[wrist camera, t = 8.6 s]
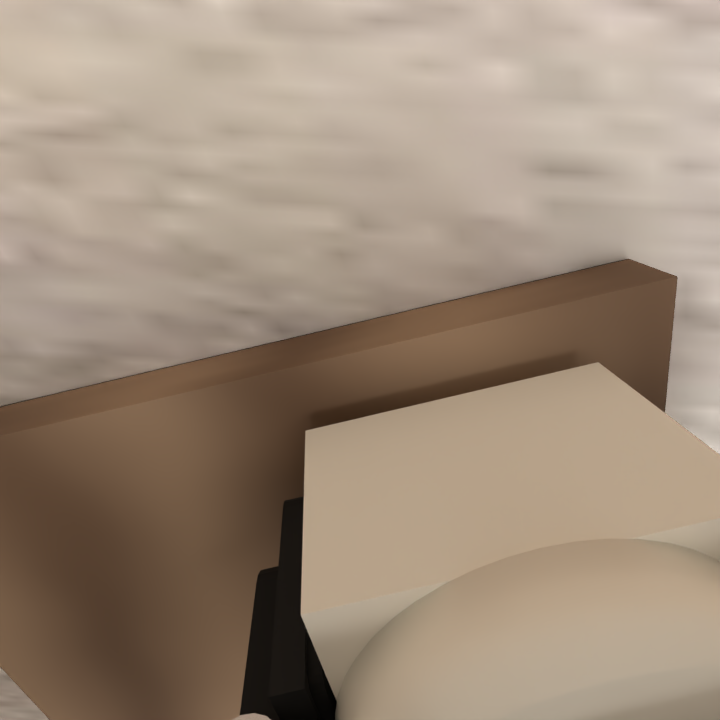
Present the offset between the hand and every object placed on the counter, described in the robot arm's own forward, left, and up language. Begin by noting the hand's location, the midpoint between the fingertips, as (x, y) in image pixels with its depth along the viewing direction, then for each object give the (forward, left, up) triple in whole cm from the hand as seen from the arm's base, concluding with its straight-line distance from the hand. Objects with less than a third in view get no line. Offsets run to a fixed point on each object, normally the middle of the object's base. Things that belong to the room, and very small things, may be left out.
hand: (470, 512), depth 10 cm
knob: (0, 0, 0) cm, 0 cm away
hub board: (-4, -2, -3) cm, 5 cm away
